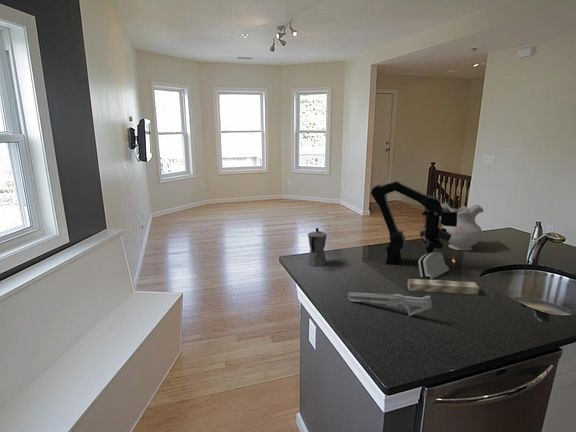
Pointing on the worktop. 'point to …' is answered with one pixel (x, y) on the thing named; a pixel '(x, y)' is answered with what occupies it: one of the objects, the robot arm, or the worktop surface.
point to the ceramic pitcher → (464, 227)
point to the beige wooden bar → (443, 286)
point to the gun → (395, 301)
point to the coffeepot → (317, 248)
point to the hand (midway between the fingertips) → (429, 256)
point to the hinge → (432, 265)
